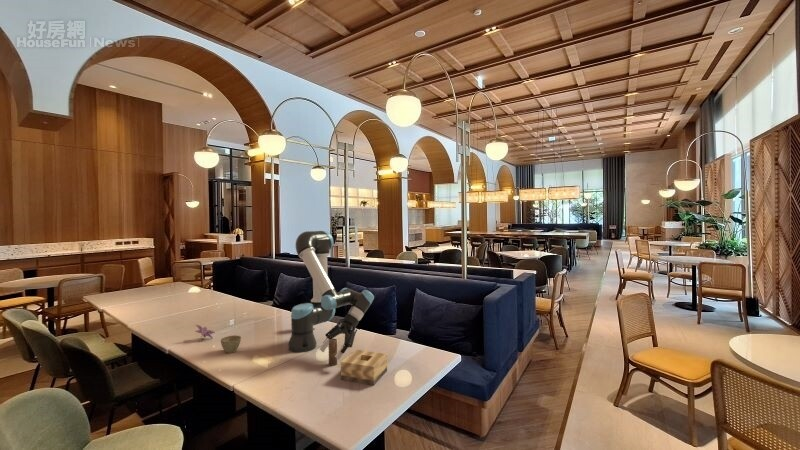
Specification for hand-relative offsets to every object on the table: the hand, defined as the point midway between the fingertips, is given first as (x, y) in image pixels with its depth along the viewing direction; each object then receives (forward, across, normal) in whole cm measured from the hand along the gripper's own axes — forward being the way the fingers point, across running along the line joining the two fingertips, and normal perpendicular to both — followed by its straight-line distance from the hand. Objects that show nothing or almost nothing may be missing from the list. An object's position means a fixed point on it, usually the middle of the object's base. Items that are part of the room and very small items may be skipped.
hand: (328, 354), depth 166 cm
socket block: (0, -20, -8) cm, 22 cm away
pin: (+2, 0, -6) cm, 6 cm away
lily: (+27, +84, +18) cm, 90 cm away
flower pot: (+23, +54, +15) cm, 60 cm away
